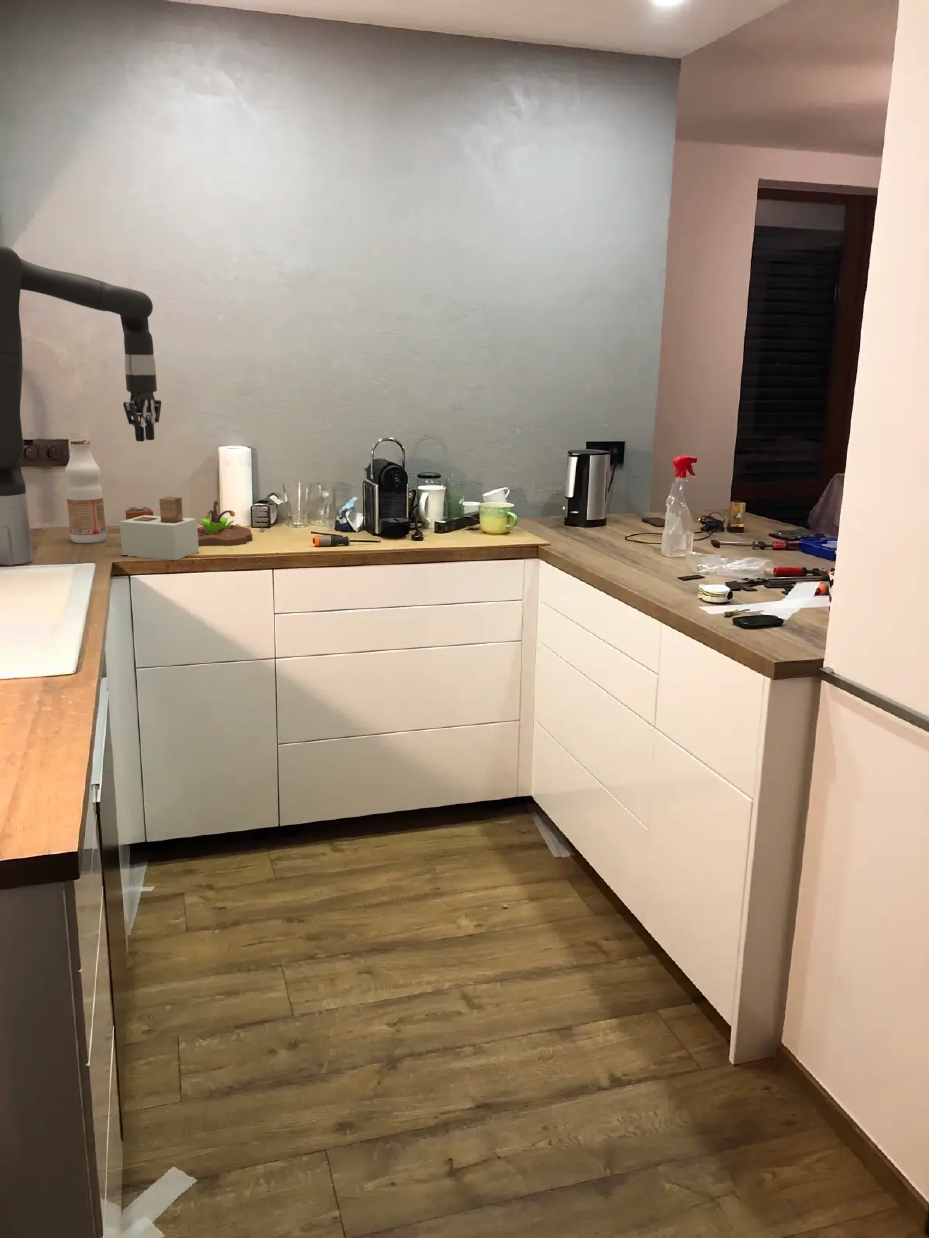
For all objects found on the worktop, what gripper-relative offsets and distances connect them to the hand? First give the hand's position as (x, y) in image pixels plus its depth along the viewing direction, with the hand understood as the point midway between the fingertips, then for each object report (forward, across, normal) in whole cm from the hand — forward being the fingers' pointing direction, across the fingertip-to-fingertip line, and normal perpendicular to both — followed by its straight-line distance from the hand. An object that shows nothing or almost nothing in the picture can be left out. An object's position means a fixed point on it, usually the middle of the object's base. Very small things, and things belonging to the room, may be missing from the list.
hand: (145, 440), depth 259 cm
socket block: (+29, -4, -5) cm, 30 cm away
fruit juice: (+29, +5, +24) cm, 38 cm away
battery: (+30, +8, +9) cm, 32 cm away
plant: (+30, +19, -8) cm, 37 cm away
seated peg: (+29, -4, -1) cm, 30 cm away
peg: (+23, -4, -9) cm, 25 cm away
